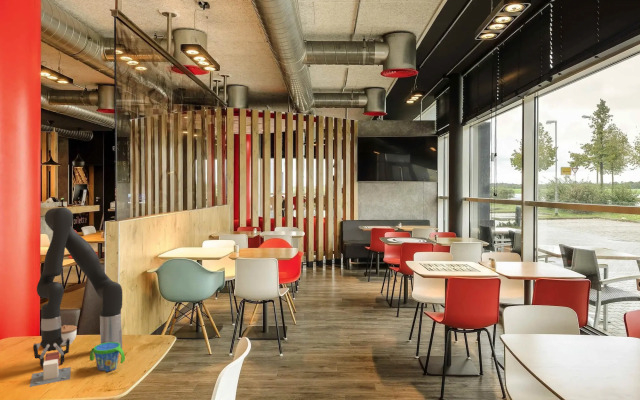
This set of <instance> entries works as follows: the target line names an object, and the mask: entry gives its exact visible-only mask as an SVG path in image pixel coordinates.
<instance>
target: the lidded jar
mask: <svg viewBox="0 0 640 400" xmlns="http://www.w3.org/2000/svg"><path fill="white" fill-rule="evenodd" d="M77 328H78V327H77V326H76V325H73V324H71V325H70V324H68V325H66V324H63V326H62V325H61V333H62V339H68V338H69V339H70V343H69V345H71V344H73V342H74V340H75V339H76V337H77V334H78V333H77V332H78V329H77ZM60 346H61V347H62V346H63V347H66V345H65V344H64V342H62V344H61V345H60Z"/></svg>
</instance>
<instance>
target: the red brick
mask: <svg viewBox="0 0 640 400" xmlns="http://www.w3.org/2000/svg"><path fill="white" fill-rule="evenodd" d="M54 359H58V368H59V367H60V364H61V360H60V353H59V352H58V351H54V352H46V353H45V355H44V361H48V360H54Z"/></svg>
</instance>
